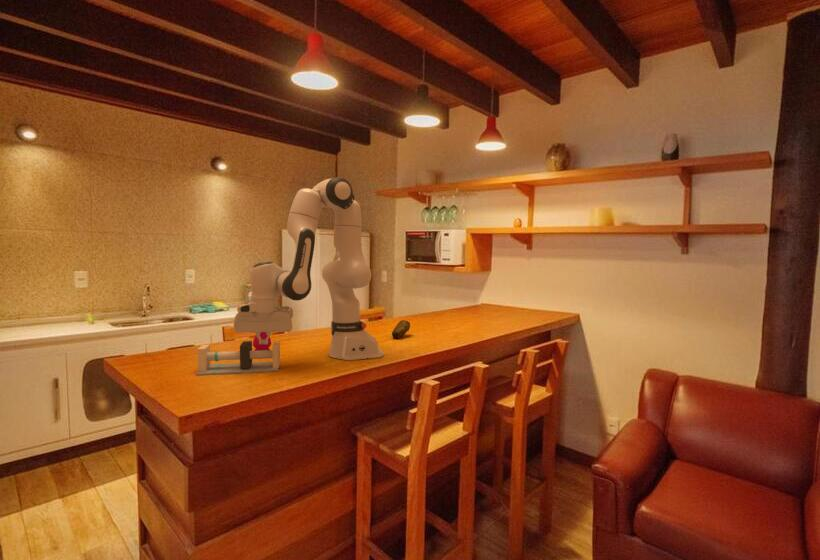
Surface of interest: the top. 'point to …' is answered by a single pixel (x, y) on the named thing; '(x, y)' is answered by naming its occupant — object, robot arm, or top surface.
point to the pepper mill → (261, 346)
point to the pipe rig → (234, 368)
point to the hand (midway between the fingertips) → (263, 344)
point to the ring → (245, 354)
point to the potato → (401, 329)
